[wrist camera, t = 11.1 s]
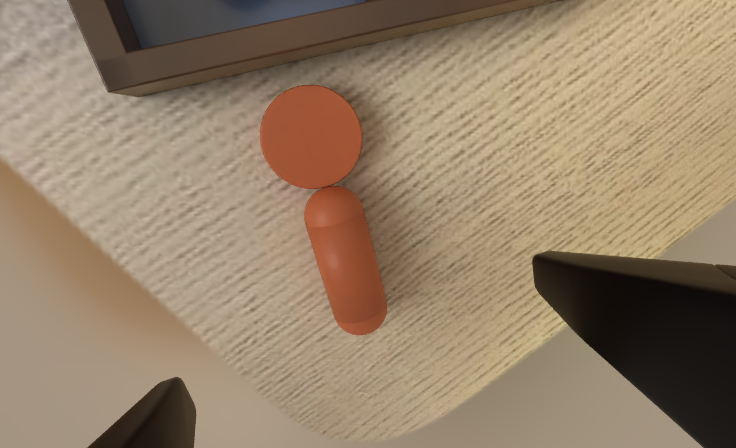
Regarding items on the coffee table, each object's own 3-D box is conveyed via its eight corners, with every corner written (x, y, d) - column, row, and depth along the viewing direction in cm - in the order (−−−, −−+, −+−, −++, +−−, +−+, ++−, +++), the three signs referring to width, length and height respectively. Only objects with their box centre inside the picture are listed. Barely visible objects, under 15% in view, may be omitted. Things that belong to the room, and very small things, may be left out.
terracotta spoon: (398, 303, 15) (414, 329, 13) (322, 329, 14) (328, 360, 13) (343, 77, 12) (355, 69, 10) (247, 100, 12) (241, 96, 10)
